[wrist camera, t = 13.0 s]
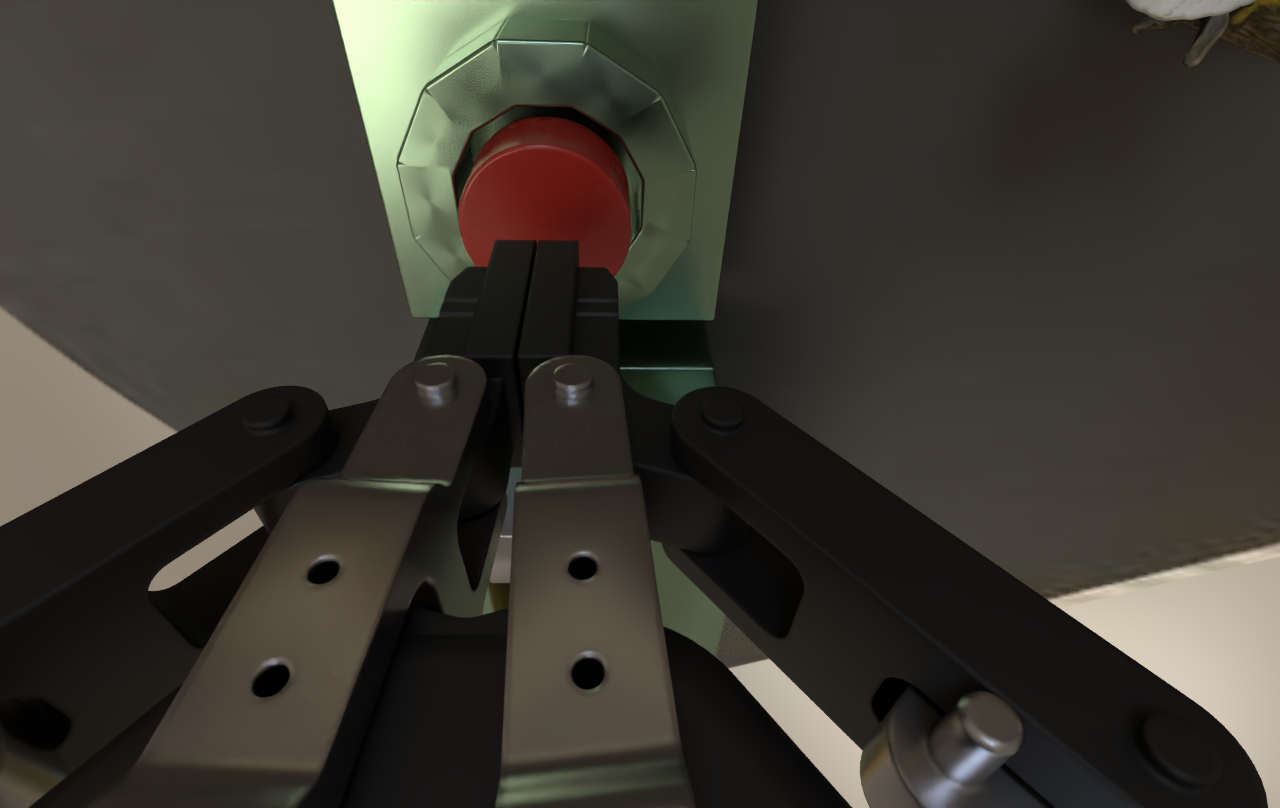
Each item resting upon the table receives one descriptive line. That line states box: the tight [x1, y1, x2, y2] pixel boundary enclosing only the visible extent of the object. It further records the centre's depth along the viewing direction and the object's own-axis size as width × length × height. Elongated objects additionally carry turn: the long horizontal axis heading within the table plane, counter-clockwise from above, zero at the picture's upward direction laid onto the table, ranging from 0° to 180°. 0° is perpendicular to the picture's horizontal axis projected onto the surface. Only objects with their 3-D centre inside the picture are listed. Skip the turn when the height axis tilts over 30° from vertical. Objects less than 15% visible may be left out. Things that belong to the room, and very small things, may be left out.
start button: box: [458, 116, 632, 276], centre depth 14 cm, size 4×4×2 cm
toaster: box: [413, 318, 726, 657], centre depth 22 cm, size 14×9×10 cm, turn 178°
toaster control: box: [331, 0, 759, 321], centre depth 16 cm, size 9×9×5 cm
